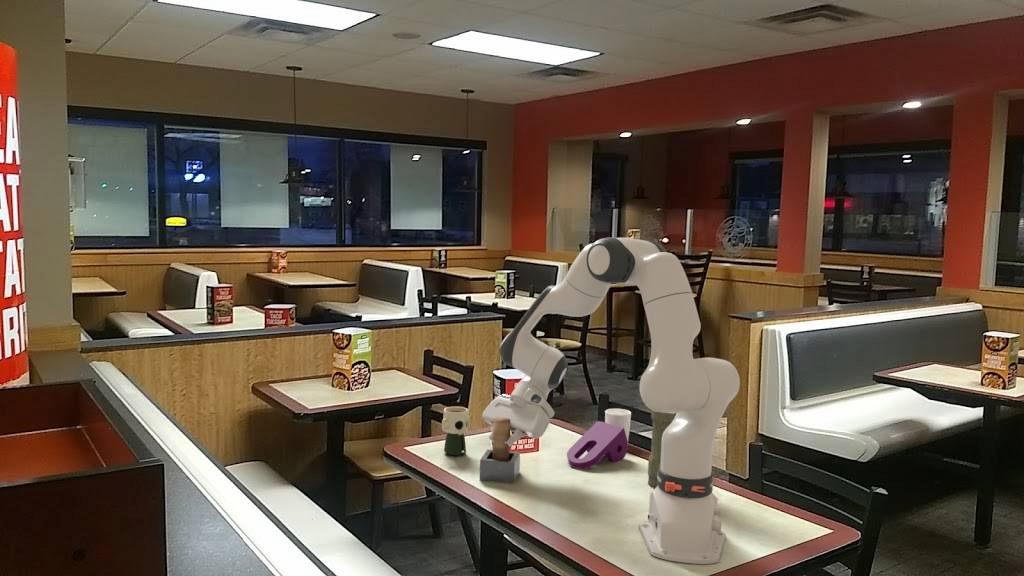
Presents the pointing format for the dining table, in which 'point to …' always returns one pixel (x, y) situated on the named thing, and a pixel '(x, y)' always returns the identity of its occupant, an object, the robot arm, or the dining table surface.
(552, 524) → the dining table surface
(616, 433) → the mounting bracket
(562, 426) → the dining table surface
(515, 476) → the metal well
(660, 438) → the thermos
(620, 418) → the white cup
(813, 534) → the dining table surface
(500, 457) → the walnut post
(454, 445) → the character mug
